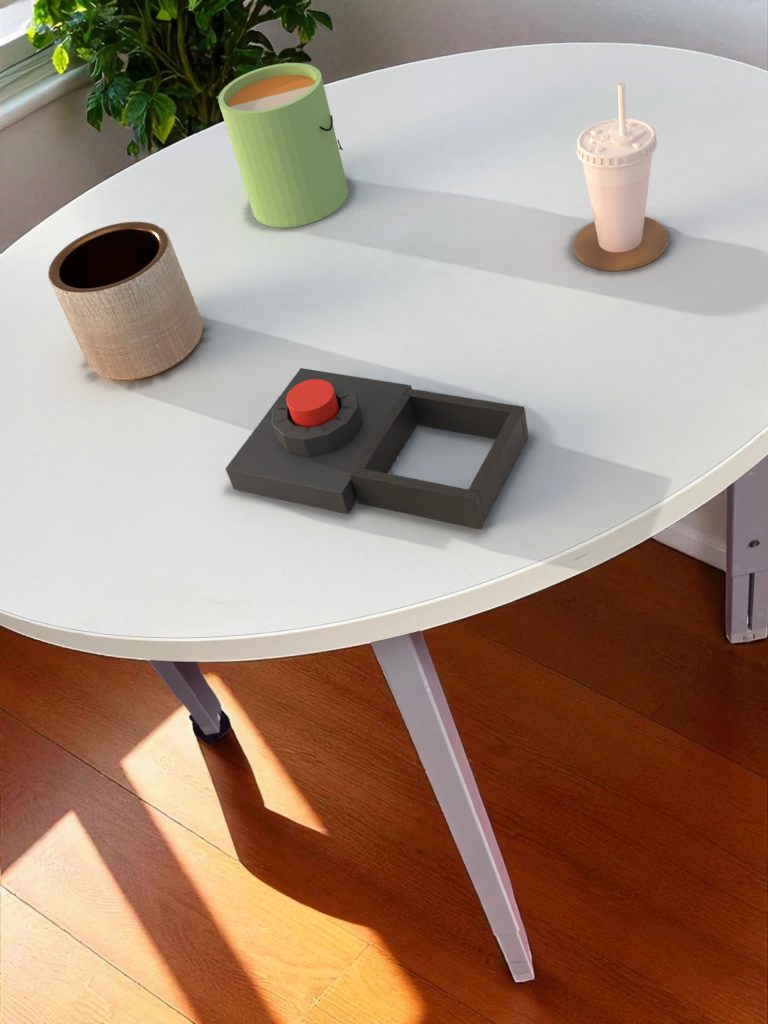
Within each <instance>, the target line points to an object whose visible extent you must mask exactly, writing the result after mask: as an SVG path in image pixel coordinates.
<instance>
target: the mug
mask: <svg viewBox="0 0 768 1024" xmlns="http://www.w3.org/2000/svg"><path fill="white" fill-rule="evenodd" d="M217 102H218V105H219V109H220V112H221V114H222V115H221V116H222V117H223V121H224V124H225V127H226V130H227V134H228V137H229V140H230V144H231V147H232V150H233V154H234V156H235V160H236V162H237V167H238V169H239V173H240V175H241V176H240V177H241V178H242V183H243V186H244V189H245V192H246V196H247V199H248V202H249V203H250V204H249V205H250V208H251V211H252V215H253V216H254V219H256V221H257V222H259V223H260V224H262V225H264V226H267V227H272V228H295V227H301V226H305V225H310V224H312V223H315V222H317V221H320V220H322V219H324V218H326V217H328V216H330V215H332V214H333V213H334V212H337V210H339V208H340V207H342V205H344V204H345V202H346V201H347V198H348V197H349V186H348V183H347V182H348V181H347V178H346V174H345V170H344V165H343V161H342V157H341V153H340V151H343V148H342V147H343V146H341V143H340V139H337V135H336V131H335V127H334V119H333V115H331V110H330V106H329V101H328V97H327V93H326V89H325V84H324V82H323V76H322V73H321V71H320V69H318V68H317V67H315V66H314V65H311V64H307V63H302V62H301V63H300V62H285V63H277V64H272V65H266V66H265V67H260V68H257V69H254V70H251V71H249V72H247V73H244V74H242V75H240V76H239V77H237V78H235V79H233V80H232V81H230V82H229V83H228V84H227V85H225V86H224V87H223V89H222V90H221V91H220V93H219V95H218V99H217Z"/></svg>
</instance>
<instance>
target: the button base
mask: <svg viewBox="0 0 768 1024" xmlns="http://www.w3.org/2000/svg"><path fill="white" fill-rule="evenodd" d="M312 379H321V380H325V381H327V382H329V383H330V384H331V385H332V386H333V388H334V392H335V395H336V398H337V402H338V405H339V411H338V414H337V415H336V417H335V418H333V419H332V420H330V421H328V422H327V423H325V424H323V425H320V426H315V427H310V428H306V427H300V426H297V425H296V424H295V423H294V422H293V420H292V417H291V414H290V411H289V408H288V405H287V401H286V398H287V395H288V393H289V391H290V390H291V389H292V388H293V387H294V386H296V385H297V384H299V383H301V382H304V381H307V380H312ZM405 388H409V389H413V387H412V385H410V384H405V383H400V382H399V383H398V382H393V381H387V380H386V381H385V380H381V379H373V378H366V377H361V376H360V377H359V376H355V375H348V374H341V373H335V372H328V371H323V370H315V369H311V368H303V367H300V368H299V370H298V371H297V372H296V374H295V375H294V376H293V377H292V379H291V380H290V382H289V383H288V384H287V386H286V387H285V389H284V390H283V391H282V392H281V394H280V395H279V397H278V398H277V399H276V400H275V402H274V403H273V404H272V405H271V407H270V409H269V410H268V411H267V412H266V413H265V414H264V416H263V417H262V419H261V420H260V422H259V423H258V424H257V425H256V427H255V429H253V431H252V432H251V434H250V435H249V436H248V438H247V439H246V440H245V442H244V443H243V445H242V446H241V447H240V448H239V449H238V451H237V453H236V454H235V455H234V456H233V458H232V459H231V460H230V462H228V464H227V465H226V467H225V471H226V473H227V474H226V475H227V476H228V478H229V481H230V484H231V487H232V489H233V490H236V491H241V492H245V493H250V494H255V495H260V496H264V497H268V498H273V499H277V500H282V501H287V502H290V503H291V502H292V503H295V504H301V505H305V506H309V507H314V508H317V509H318V508H319V509H323V510H327V511H332V512H336V513H340V514H345V515H348V514H349V513H350V512H351V511H352V509H353V507H354V506H355V504H356V503H357V502H358V500H357V497H356V493H355V490H354V487H353V483H352V480H351V477H350V473H351V471H352V470H353V468H354V467H355V465H356V464H357V462H358V461H359V459H360V458H361V456H362V454H363V453H364V451H365V450H366V448H367V447H368V445H369V444H370V442H371V441H372V439H373V438H374V436H375V434H376V433H377V431H378V430H379V428H380V427H381V425H382V424H383V422H384V421H385V419H386V417H387V416H388V414H389V413H390V411H391V410H392V408H393V407H394V405H395V404H396V402H397V401H398V399H399V397H400V396H401V395H402V393H403V391H404V390H405Z"/></svg>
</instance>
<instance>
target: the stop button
mask: <svg viewBox="0 0 768 1024" xmlns="http://www.w3.org/2000/svg"><path fill="white" fill-rule="evenodd" d="M286 401H287V405H288V408H289V411H290V414H291V417H292V420H293V422H294V423H295V424H296V425H297V426H300V427H306V428H310V427H315V426H320V425H323V424H325V423H327V422H328V421H330V420H332V419H333V418H335V417H336V415H337V414H338V411H339V405H338V402H337V398H336V395H335V392H334V388H333V386H332V385H331V384H330V383H329V382H327V381H325V380H321V379H312V380H307V381H304V382H301V383H299V384H297V385H296V386H294V387H293V388H292V389H291V390H290V391H289V393H288V395H287V398H286Z"/></svg>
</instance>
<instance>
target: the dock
mask: <svg viewBox="0 0 768 1024" xmlns="http://www.w3.org/2000/svg"><path fill="white" fill-rule="evenodd" d="M526 414H527V413H526V407H525V406H522V405H515V404H510V403H509V404H508V403H503V402H497V401H490V400H485V399H477V398H473V397H466V396H460V395H453V394H447V393H441V392H436V391H435V392H434V391H427V390H421V389H415V388H412V389H409V388H405V390H404V391H403V393H402V395H401V396H400V397H399V399H398V401H397V402H396V404H395V405H394V407H393V408H392V410H391V411H390V413H389V414H388V416H387V417H386V419H385V421H384V422H383V424H382V425H381V427H380V428H379V430H378V431H377V433H376V434H375V436H374V438H373V439H372V441H371V442H370V444H369V445H368V447H367V448H366V450H365V451H364V453H363V454H362V456H361V458H360V459H359V461H358V462H357V464H356V465H355V467H354V468H353V470H352V471H351V473H350V477H351V480H352V483H353V487H354V490H355V493H356V497H357V503H358V504H359V505H360V504H361V505H366V506H370V507H375V508H380V509H384V510H390V511H394V512H398V513H402V514H408V515H412V516H417V517H422V518H426V519H431V520H436V521H440V522H445V523H449V524H455V525H459V526H464V527H468V528H474V529H477V530H478V529H479V530H481V528H482V527H483V525H484V523H485V521H486V519H487V518H488V516H489V513H490V512H491V509H492V508H493V507H494V504H495V502H496V501H497V498H498V496H499V494H501V493H500V492H501V491H502V489H503V487H504V485H505V483H506V481H507V479H508V477H509V476H510V474H511V472H512V470H513V468H514V466H515V464H516V462H517V460H518V458H519V457H520V455H521V452H522V451H523V449H524V447H525V445H526V442H527V441H528V439H529V431H528V430H529V429H528V422H527V415H526ZM417 426H421V427H426V428H433V429H439V430H444V431H451V432H456V433H461V434H466V435H473V436H479V437H484V438H490V439H495V440H494V442H493V444H492V446H491V447H490V449H489V451H488V453H487V454H486V456H485V458H484V460H483V461H482V464H481V465H480V467H479V468H478V471H477V473H476V475H475V476H474V478H473V481H472V482H471V484H470V485H469V488H464V487H458V486H453V485H447V484H442V483H438V482H432V481H429V480H423V479H418V478H413V477H407V476H402V475H399V474H393V473H389V471H390V470H391V468H392V467H393V465H394V463H395V462H396V460H397V459H398V456H399V455H400V454H401V452H402V451H403V449H404V447H405V445H407V442H408V441H409V439H410V437H411V436H412V435H413V433H414V431H415V430H416V428H417Z"/></svg>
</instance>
